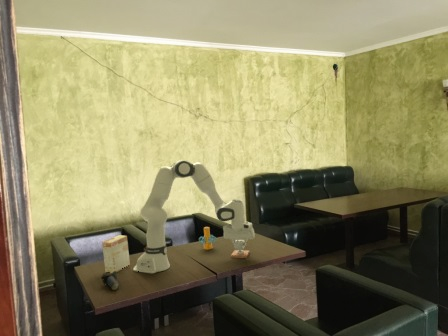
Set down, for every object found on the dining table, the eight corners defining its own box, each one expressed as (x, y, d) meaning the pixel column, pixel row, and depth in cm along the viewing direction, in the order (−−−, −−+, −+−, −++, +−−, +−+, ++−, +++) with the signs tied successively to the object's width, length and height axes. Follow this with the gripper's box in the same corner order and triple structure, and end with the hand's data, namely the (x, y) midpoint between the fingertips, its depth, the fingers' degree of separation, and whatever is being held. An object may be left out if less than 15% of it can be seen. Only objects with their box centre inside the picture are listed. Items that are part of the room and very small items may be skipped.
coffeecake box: (122, 264, 239) (119, 234, 237) (130, 265, 236) (127, 235, 234) (104, 272, 226) (101, 241, 224) (113, 274, 223) (110, 242, 221)
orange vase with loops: (217, 245, 263) (216, 225, 261) (216, 250, 253) (214, 229, 251) (200, 246, 264) (199, 226, 263) (198, 251, 254) (196, 230, 252)
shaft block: (231, 257, 236) (230, 243, 235) (234, 252, 246) (233, 238, 245) (246, 258, 234) (245, 243, 233) (249, 252, 243) (248, 238, 242)
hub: (234, 249, 237) (234, 242, 237) (236, 246, 243) (236, 239, 242) (242, 249, 236) (242, 242, 235) (244, 246, 241) (244, 239, 241)
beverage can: (103, 287, 207) (110, 295, 197) (100, 275, 205) (106, 283, 195) (119, 280, 212) (126, 287, 202) (115, 268, 210) (122, 275, 200)
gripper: (221, 225, 238) (222, 246, 239) (252, 225, 232) (253, 247, 233) (224, 223, 244) (225, 243, 245) (254, 223, 238) (255, 244, 239)
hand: (239, 245), depth 239 cm, fingers closed on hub, 5 cm apart
